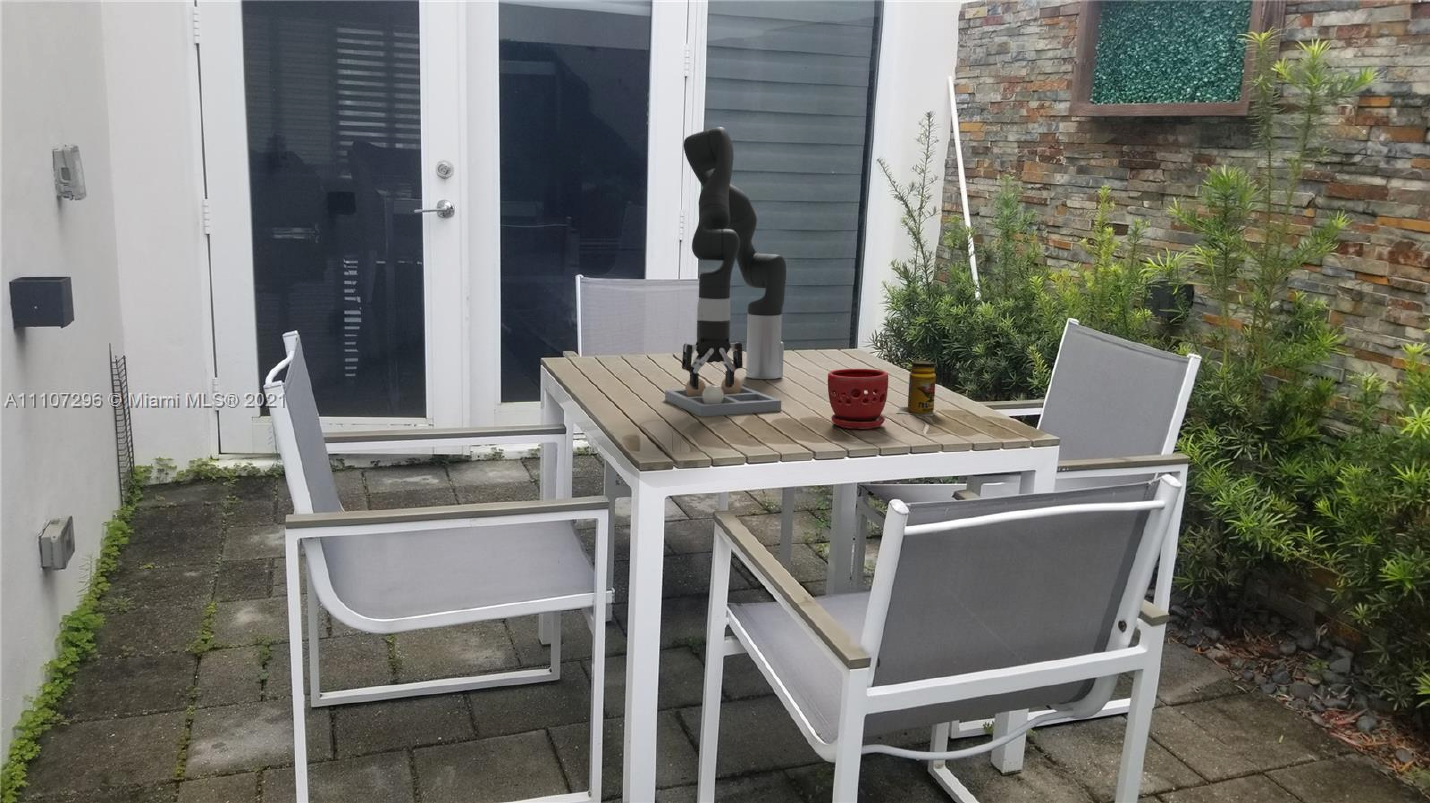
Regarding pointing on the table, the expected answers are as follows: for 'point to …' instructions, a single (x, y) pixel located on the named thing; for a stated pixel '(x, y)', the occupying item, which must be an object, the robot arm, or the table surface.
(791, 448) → the table surface
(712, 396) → the pale egg
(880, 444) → the table surface
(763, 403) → the egg tray
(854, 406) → the plant pot
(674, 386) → the table surface
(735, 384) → the brown egg
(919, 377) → the condiment
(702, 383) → the brown egg
